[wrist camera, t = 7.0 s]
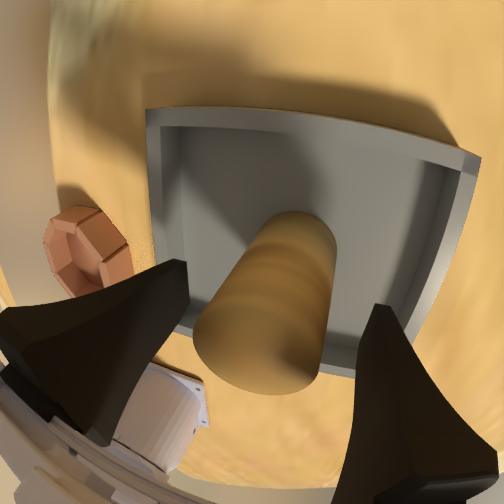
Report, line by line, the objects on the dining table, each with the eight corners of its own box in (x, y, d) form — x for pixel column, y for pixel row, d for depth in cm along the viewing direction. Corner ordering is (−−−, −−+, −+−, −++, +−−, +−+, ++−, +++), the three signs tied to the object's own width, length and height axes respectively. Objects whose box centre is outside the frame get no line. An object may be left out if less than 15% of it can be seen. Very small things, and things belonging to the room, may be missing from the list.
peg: (326, 291, 15) (303, 406, 9) (253, 273, 16) (195, 373, 10) (345, 221, 13) (336, 327, 7) (261, 203, 14) (189, 287, 8)
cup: (140, 304, 21) (121, 323, 19) (77, 279, 23) (60, 294, 21) (124, 213, 18) (98, 229, 16) (58, 202, 19) (36, 214, 17)
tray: (387, 353, 16) (388, 383, 14) (185, 306, 20) (167, 329, 18) (460, 147, 10) (481, 157, 8) (175, 106, 13) (145, 109, 11)
